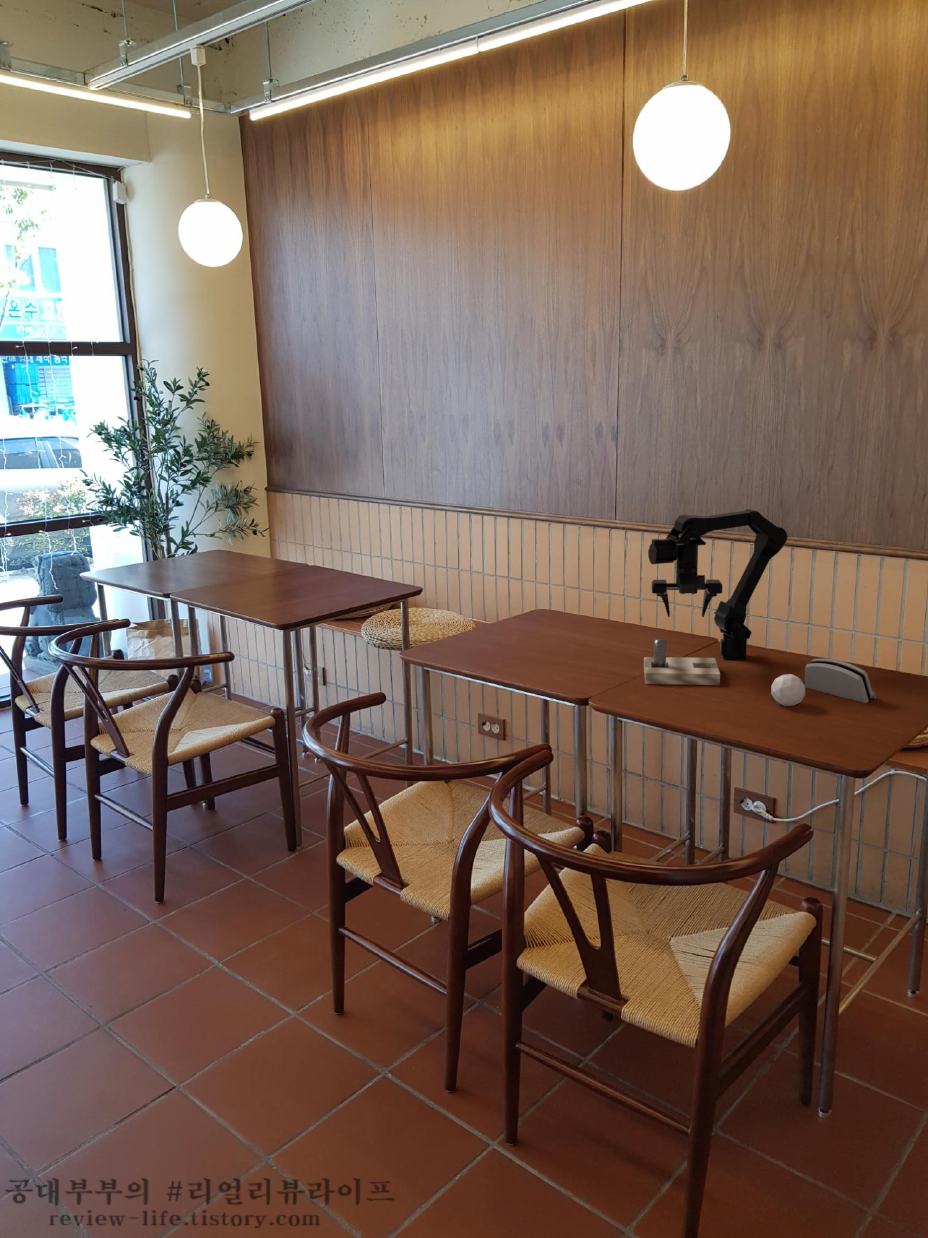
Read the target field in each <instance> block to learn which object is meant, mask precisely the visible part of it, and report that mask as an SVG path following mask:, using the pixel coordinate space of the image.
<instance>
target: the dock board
mask: <svg viewBox="0 0 928 1238" xmlns="http://www.w3.org/2000/svg"><path fill="white" fill-rule="evenodd" d="M643 672H644V683H645V685H692V686H693V685H694V686H695V685H696V686H697V685H699V686H700V685H701V686H703V685H704V686H720V685H721V672H720V669H719V667H718V663H717V661H716V658H715V657H675V656H674V657H672V656H671V657H667V656H666V668H654V656H653V657H651V656H647V657H646V656H645V657H643Z"/></svg>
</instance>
